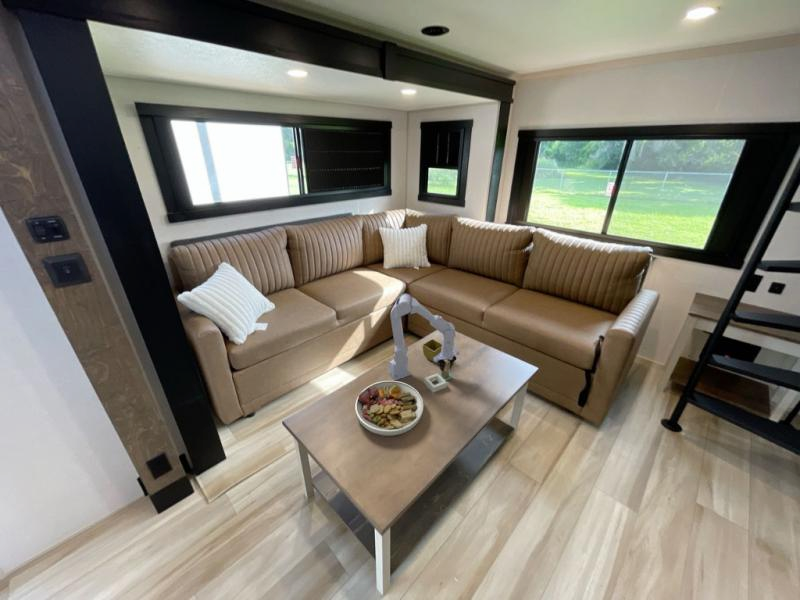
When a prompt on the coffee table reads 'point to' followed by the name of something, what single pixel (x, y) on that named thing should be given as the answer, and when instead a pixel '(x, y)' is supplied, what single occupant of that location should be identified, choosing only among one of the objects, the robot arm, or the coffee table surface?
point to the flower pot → (432, 349)
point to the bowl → (389, 407)
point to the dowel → (446, 369)
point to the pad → (446, 377)
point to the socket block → (436, 387)
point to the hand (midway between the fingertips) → (445, 368)
